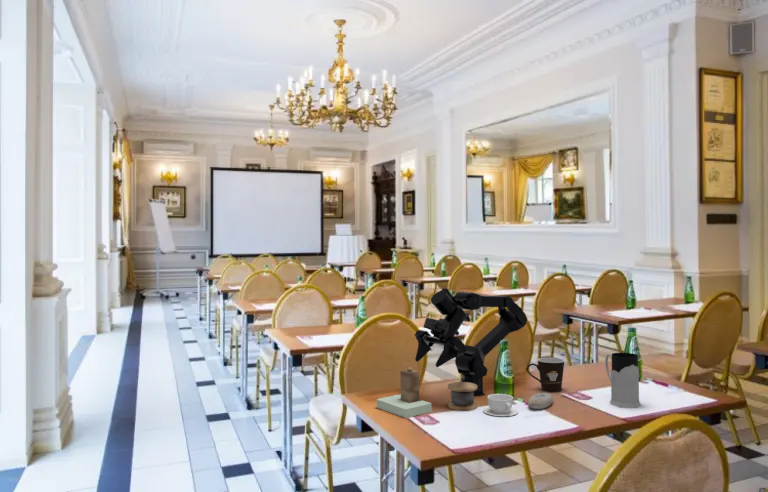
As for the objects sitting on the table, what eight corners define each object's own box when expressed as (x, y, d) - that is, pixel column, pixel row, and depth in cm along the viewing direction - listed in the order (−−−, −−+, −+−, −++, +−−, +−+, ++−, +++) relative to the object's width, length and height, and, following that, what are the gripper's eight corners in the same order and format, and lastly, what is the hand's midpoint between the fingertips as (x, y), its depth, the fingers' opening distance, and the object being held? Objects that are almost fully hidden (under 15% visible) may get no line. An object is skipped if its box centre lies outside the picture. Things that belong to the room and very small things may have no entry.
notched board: (402, 401, 185) (402, 393, 185) (431, 411, 174) (431, 403, 174) (376, 407, 179) (376, 399, 179) (405, 418, 168) (405, 409, 168)
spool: (471, 401, 184) (471, 381, 184) (481, 409, 175) (481, 388, 175) (444, 403, 182) (444, 382, 182) (452, 411, 174) (452, 389, 173)
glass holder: (620, 408, 174) (620, 358, 174) (594, 396, 188) (593, 349, 188) (647, 406, 176) (646, 356, 176) (618, 394, 190) (618, 348, 190)
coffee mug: (567, 388, 198) (567, 359, 198) (560, 394, 191) (560, 363, 191) (534, 384, 205) (533, 355, 204) (525, 390, 197) (525, 360, 197)
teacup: (477, 410, 175) (476, 394, 175) (505, 406, 179) (505, 391, 179) (495, 419, 166) (494, 403, 166) (524, 415, 169) (524, 399, 169)
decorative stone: (558, 401, 184) (558, 390, 184) (543, 413, 171) (543, 401, 171) (539, 398, 187) (539, 387, 187) (523, 410, 174) (523, 399, 174)
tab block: (411, 404, 181) (410, 366, 180) (419, 407, 177) (418, 368, 177) (400, 407, 178) (400, 367, 178) (409, 410, 175) (408, 370, 175)
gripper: (418, 305, 192) (392, 343, 185) (459, 311, 177) (433, 353, 171) (435, 326, 197) (411, 363, 191) (477, 334, 182) (452, 375, 176)
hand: (426, 363), depth 182 cm, fingers open, 9 cm apart
